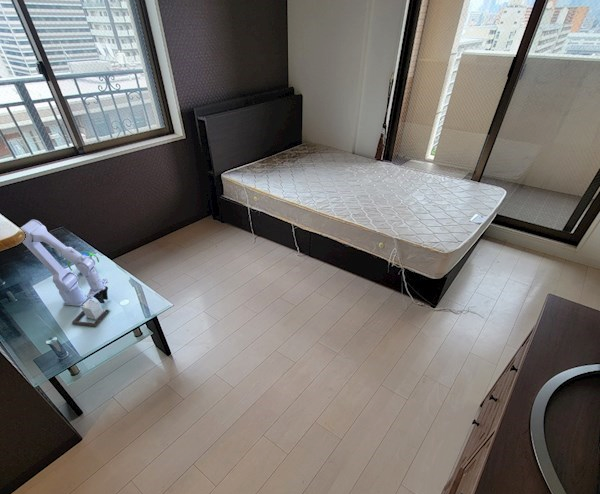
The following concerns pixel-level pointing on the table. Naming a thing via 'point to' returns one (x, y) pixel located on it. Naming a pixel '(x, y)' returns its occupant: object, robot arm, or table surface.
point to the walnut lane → (76, 321)
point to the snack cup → (85, 255)
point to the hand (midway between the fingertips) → (104, 301)
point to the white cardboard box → (92, 309)
